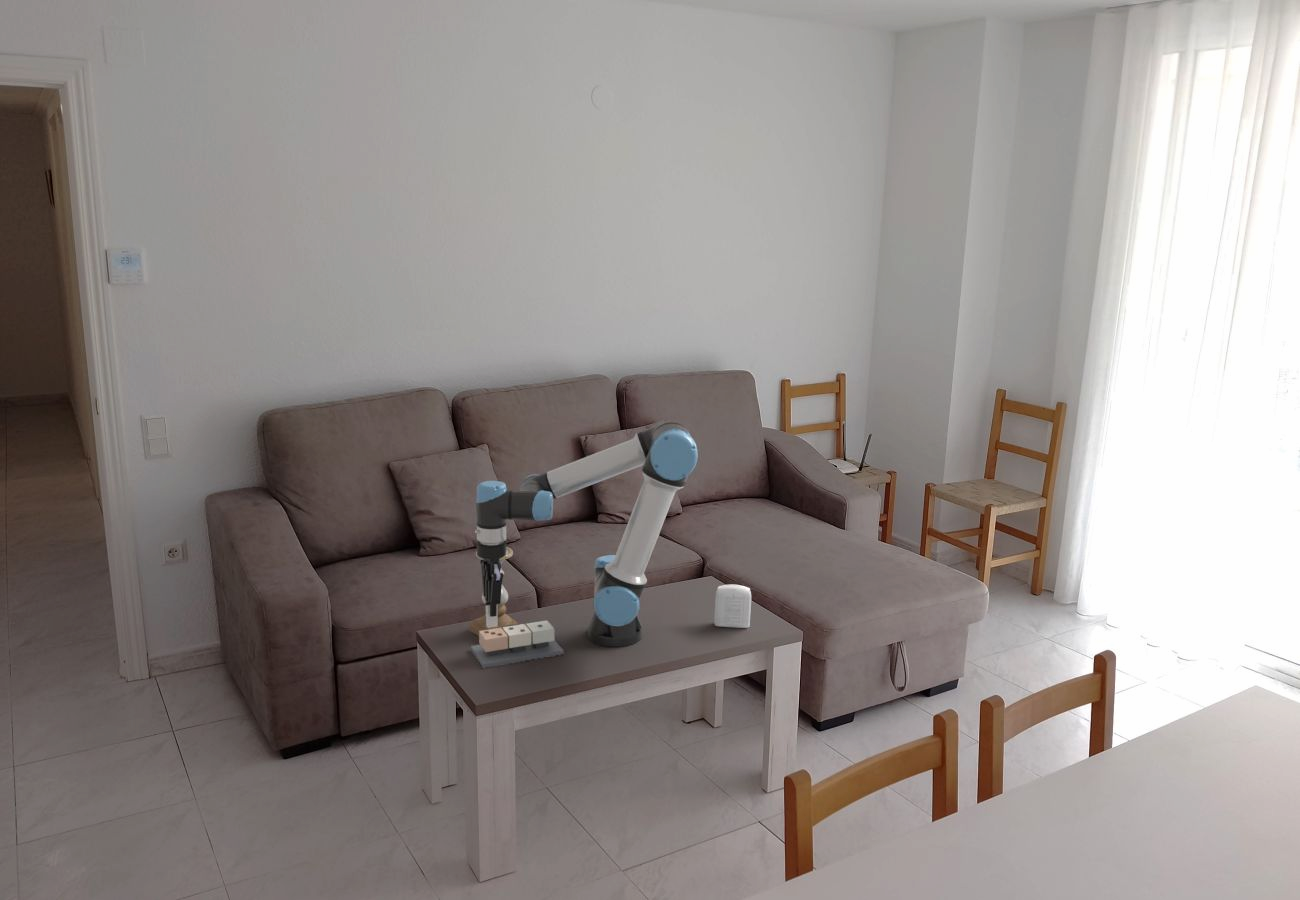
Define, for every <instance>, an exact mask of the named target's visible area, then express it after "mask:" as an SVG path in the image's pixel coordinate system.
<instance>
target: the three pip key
mask: <svg viewBox="0 0 1300 900" xmlns="http://www.w3.org/2000/svg"><path fill="white" fill-rule="evenodd" d="M478 643H479V644H478V645H481V646H482V648H483V649H484V651H485V652H490V651H496V650H502V649H508V636H507V635H506V633H505V632H504V631H503V630H502V628H495V629H489V630H483V631H479V637H478Z"/></svg>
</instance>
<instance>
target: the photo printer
mask: <svg viewBox="0 0 1300 900" xmlns="http://www.w3.org/2000/svg"><path fill="white" fill-rule="evenodd" d="M714 601H715V603H714V617H713V618H714V622H713V624H714V626H716V627H719V628H720V627H722V628H723V627H724V628H739V629H749V627H750V626H751V623H750V622H751V609H752V607H751V605H752V592H751V588H750V587H749V586H748V587H747V586H745V585H740V584H733V583H732V584H724V585H719V586H717V589H716V590H715V600H714Z"/></svg>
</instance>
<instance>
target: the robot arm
mask: <svg viewBox="0 0 1300 900" xmlns="http://www.w3.org/2000/svg"><path fill="white" fill-rule="evenodd" d="M698 453H699V452H698V447H697V444H696V441H695V440H694V437H693V435H692V432H691V431H690V430H689V428H688V427H687V426H686V425H684V424H682V423H680V422H678V421H671V420H670V421H664V422H661V423H658V424H655V425H653V426H651V427H649V428H647V429H644V430H642V431H639V432H636V433H635V435H634V437H633V438H631V439H629V440H627V441H623V442H622V443H618V444H617V445H614V446H611V447H608V448H605V449H603V450H600V451H598V452H595V453H592V454H590V455H587V456H584V457H583V458H580V459H577V460H575V461H572V462H570V463H567V464H564V465H562V466H559V467H557V468H554V469H552V470H548V471H547V472H544V473H541V474H533V473H532V474H529V475H527V476H526V477H525V478H524V480H523V481H522V482H521V484H520V486H519V490H511V489H509V490H508V488H507V485H506V483H505V482H504V481H497V480H486V481H482V482H480V483H479V484H478V485H477V487H476V498H475V499H476V500H475V503H476V507H475V508H476V509H475V510H476V529H475V530H474V533H475V534H476V540H477V542H476V551H477V555H478V556H479V557H480V558H483V559H479V560H480V561H479V562H480V568H481V580H482V594H483V596H484V597H485V600H486V602H485V603H484V604H485V606H486V613H485V615H486V626H487V628H490V627H497V626H498V604H500V601H501V588H502V585H503V580H504V579H503V578H504V575H503V573H500V570H501V569H502V564H501V563H499V559H500V558H502V557H504V556H505V555H506V547H507V542H506V540H507V520H510V521H512V520H514V521H515V520H516V521H518V520H519V521H536V522H540V521H549V520H551V519H552V518H553V514H554V513H553V511H554V500H556V499H559V498H560V497H564V496H565V495H569V494H571V493H573V492H574V493H575V492H577V491H579V490H582V489H584V488H587V487H589V486H592V485H594V484H598V483H600V482H602V481H606V480H608V479H610V478H613V477H616V476H618V475H620V474H623V473H627V472H628V471H631V470H634V469H636V468H640V467H642V468H641V473H642V476H643V478H644V480H643V482H642V485H641V487H640V490H639V492H638V496H637V498H636V501H635V503H634V506H633V509H632V512H631V514H630V517H629V519H628V522H627V524H626V527H625V530H624V533H623V535H622V538H621V540H620V543H619V545H618V547H617V551H616V553H615V554H609V555H602V556H599V557H597V558H596V559H595V562H594V567H593V569H594V593H593V600H592V601H593V603H592V606H593V609H594V611H593V613H592V615H591V619H590V622H589V625H588V628H587V636H588V639H589V640H590V641H591V642H592V643H595V644H596V645H600V646H604V647H615V648H616V647H617V648H619V647H625V646H631V645H634V644H637V643H638V642H640V641H641V639H642V638H643V626H642V622H641V620H640V616H639V614H638V613H639V611H640V605H641V603H640V600H641V599H642V598H641V597H642V595H643V592H644V590H645V587H646V585H647V582H648V579H647V577H646V575H645V571H646V569H647V566H648V563H649V561H650V558H651V556H652V553H653V551H654V549H655V546H656V543H657V540H658V538H659V535H660V534H661V530H662V527H663V525H664V522H665V520H666V517H667V514H668V512H669V510H670V507H671V505H672V502H673V499H674V497H675V495H676V492H677V491H678V490H681V489H683V488H684V487H685V485H686V482H687V480H688V477H689V476H690V474H691V473H692V472H693V471H694V469H695V468H696V466H697V462H698V458H699V456H698V455H699V454H698Z"/></svg>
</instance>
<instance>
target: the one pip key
mask: <svg viewBox="0 0 1300 900" xmlns="http://www.w3.org/2000/svg"><path fill="white" fill-rule="evenodd" d="M525 626H526V627H527V628H528V629H529V630H530V631H531V642H532V644H538V643H544V642H550V641H554V640H555V627H553V625H552V624H551V623H550V622H549V621H548V620H541V621H535V622H530V623H529V622H528V623H525Z"/></svg>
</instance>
